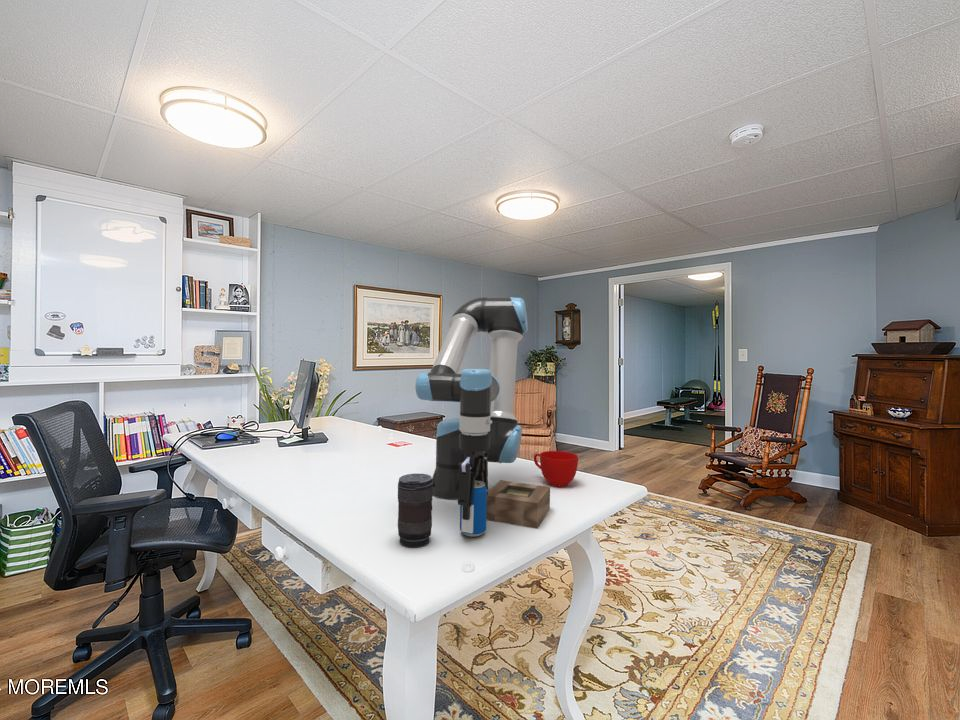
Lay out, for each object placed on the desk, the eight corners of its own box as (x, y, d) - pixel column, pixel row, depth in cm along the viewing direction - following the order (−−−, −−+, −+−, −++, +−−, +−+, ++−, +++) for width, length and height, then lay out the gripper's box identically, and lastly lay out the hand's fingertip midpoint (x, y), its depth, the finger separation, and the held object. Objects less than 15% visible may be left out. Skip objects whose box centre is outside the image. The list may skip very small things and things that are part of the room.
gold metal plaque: (501, 500, 119) (501, 496, 119) (509, 492, 126) (509, 488, 126) (526, 503, 117) (526, 500, 117) (533, 495, 123) (533, 492, 123)
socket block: (482, 519, 117) (482, 494, 117) (500, 501, 131) (500, 480, 131) (536, 528, 112) (537, 503, 111) (549, 509, 126) (550, 486, 125)
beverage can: (489, 529, 109) (490, 481, 109) (481, 539, 103) (482, 489, 103) (465, 525, 111) (466, 478, 111) (455, 535, 105) (456, 485, 105)
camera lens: (398, 534, 106) (399, 472, 106) (432, 534, 107) (433, 472, 106) (394, 549, 98) (396, 482, 98) (431, 548, 99) (432, 482, 98)
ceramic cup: (544, 474, 162) (545, 447, 162) (584, 484, 151) (585, 455, 150) (522, 480, 153) (523, 452, 153) (563, 492, 141) (564, 461, 141)
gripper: (474, 441, 96) (472, 545, 97) (502, 427, 114) (500, 514, 115) (443, 438, 99) (441, 539, 99) (475, 424, 117) (473, 510, 117)
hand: (472, 526), depth 107 cm, fingers closed on beverage can, 6 cm apart
